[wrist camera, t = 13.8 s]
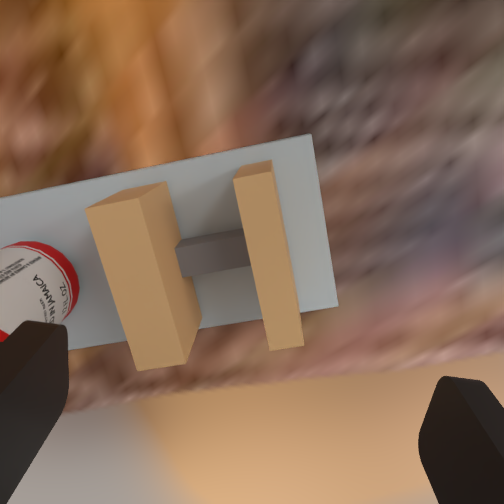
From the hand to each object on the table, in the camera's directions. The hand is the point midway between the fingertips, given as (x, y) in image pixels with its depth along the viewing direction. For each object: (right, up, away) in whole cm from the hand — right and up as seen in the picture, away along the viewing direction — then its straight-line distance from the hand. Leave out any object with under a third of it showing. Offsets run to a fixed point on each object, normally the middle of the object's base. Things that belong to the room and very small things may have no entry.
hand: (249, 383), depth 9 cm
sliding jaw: (-3, +3, +20) cm, 20 cm away
